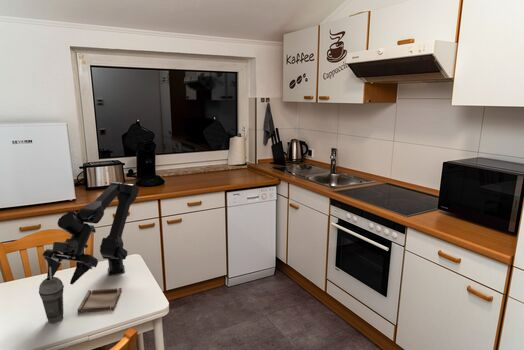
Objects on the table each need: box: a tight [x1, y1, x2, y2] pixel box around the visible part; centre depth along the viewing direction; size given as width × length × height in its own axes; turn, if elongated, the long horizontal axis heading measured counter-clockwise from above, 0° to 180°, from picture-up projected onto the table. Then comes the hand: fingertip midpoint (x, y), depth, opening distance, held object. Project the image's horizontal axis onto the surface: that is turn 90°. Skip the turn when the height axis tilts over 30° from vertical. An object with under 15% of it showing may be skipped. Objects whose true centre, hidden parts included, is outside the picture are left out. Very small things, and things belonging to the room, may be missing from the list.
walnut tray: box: [77, 287, 123, 314], centre depth 131 cm, size 12×12×2 cm
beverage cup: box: [38, 267, 65, 325], centre depth 119 cm, size 7×7×20 cm
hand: (59, 282), depth 122 cm, fingers open, 9 cm apart
